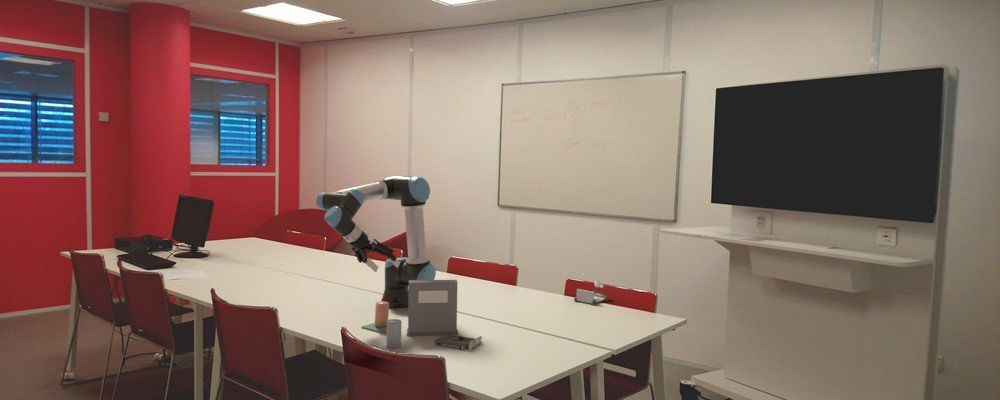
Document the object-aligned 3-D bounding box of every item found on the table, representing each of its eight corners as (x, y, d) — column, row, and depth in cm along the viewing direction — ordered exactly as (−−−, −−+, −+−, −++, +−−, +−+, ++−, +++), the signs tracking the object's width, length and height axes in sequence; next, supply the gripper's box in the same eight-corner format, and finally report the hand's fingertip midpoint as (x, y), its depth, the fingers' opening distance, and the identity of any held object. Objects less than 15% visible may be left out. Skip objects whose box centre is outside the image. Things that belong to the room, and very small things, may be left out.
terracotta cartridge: (372, 325, 261) (372, 302, 260) (382, 323, 265) (383, 300, 265) (380, 328, 257) (381, 305, 257) (390, 326, 262) (391, 303, 261)
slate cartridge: (383, 346, 235) (383, 321, 234) (393, 343, 240) (394, 318, 239) (393, 349, 232) (393, 323, 231) (404, 346, 236) (404, 320, 236)
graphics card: (484, 335, 242) (471, 343, 231) (484, 345, 243) (470, 352, 232) (447, 330, 249) (432, 337, 238) (446, 339, 249) (432, 346, 238)
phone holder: (593, 279, 330) (611, 282, 322) (592, 297, 331) (611, 300, 323) (574, 283, 316) (593, 287, 309) (573, 302, 317) (592, 306, 309)
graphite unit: (406, 331, 257) (407, 279, 255) (456, 330, 260) (457, 279, 258) (406, 335, 250) (407, 283, 248) (457, 334, 253) (458, 282, 251)
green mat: (361, 327, 260) (361, 326, 260) (382, 322, 270) (382, 320, 270) (380, 333, 253) (380, 331, 253) (401, 327, 263) (401, 325, 263)
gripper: (332, 248, 258) (364, 278, 269) (371, 238, 244) (404, 270, 255) (339, 234, 263) (371, 264, 274) (379, 224, 249) (411, 256, 260)
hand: (387, 267), depth 264 cm, fingers open, 13 cm apart
